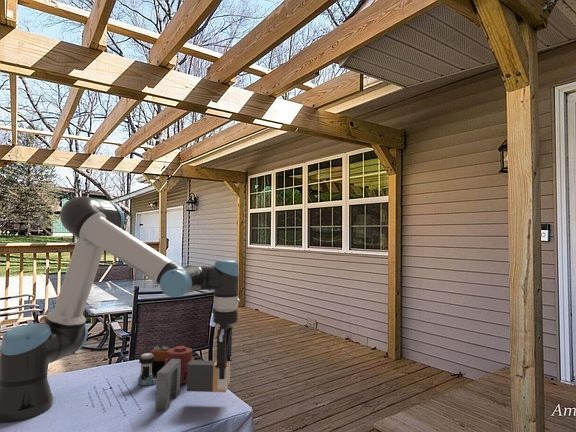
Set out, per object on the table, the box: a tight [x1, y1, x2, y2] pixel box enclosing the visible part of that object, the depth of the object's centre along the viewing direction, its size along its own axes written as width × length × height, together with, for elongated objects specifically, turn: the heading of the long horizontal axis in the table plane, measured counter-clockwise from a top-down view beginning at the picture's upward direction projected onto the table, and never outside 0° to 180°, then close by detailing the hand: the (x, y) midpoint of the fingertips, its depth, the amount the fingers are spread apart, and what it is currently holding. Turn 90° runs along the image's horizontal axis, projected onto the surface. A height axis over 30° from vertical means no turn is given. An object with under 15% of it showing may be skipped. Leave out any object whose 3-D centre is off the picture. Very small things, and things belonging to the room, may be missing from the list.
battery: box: [149, 346, 172, 377], centre depth 137 cm, size 4×7×10 cm, turn 88°
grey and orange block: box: [186, 359, 230, 393], centre depth 115 cm, size 12×4×8 cm, turn 88°
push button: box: [137, 352, 157, 386], centre depth 128 cm, size 7×5×10 cm
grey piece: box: [154, 359, 181, 413], centre depth 115 cm, size 3×13×11 cm, turn 179°
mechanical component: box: [165, 345, 195, 386], centre depth 130 cm, size 12×10×10 cm
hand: (223, 385), depth 114 cm, fingers closed on grey and orange block, 4 cm apart
